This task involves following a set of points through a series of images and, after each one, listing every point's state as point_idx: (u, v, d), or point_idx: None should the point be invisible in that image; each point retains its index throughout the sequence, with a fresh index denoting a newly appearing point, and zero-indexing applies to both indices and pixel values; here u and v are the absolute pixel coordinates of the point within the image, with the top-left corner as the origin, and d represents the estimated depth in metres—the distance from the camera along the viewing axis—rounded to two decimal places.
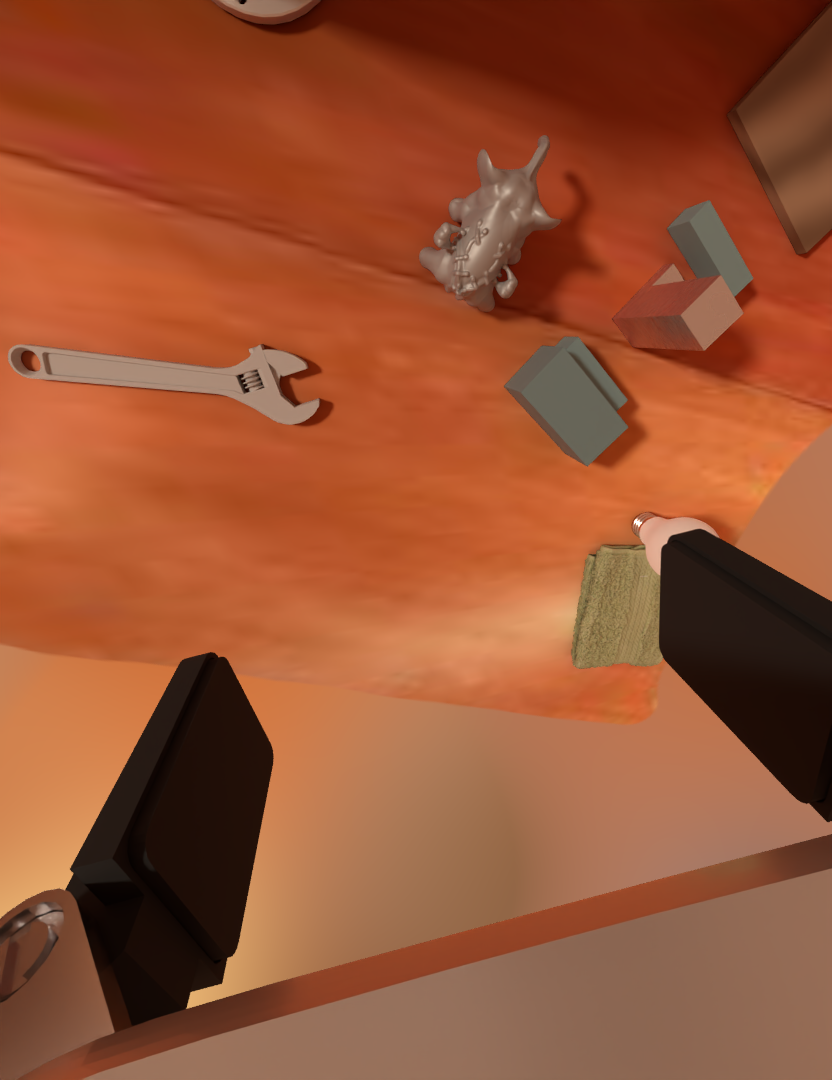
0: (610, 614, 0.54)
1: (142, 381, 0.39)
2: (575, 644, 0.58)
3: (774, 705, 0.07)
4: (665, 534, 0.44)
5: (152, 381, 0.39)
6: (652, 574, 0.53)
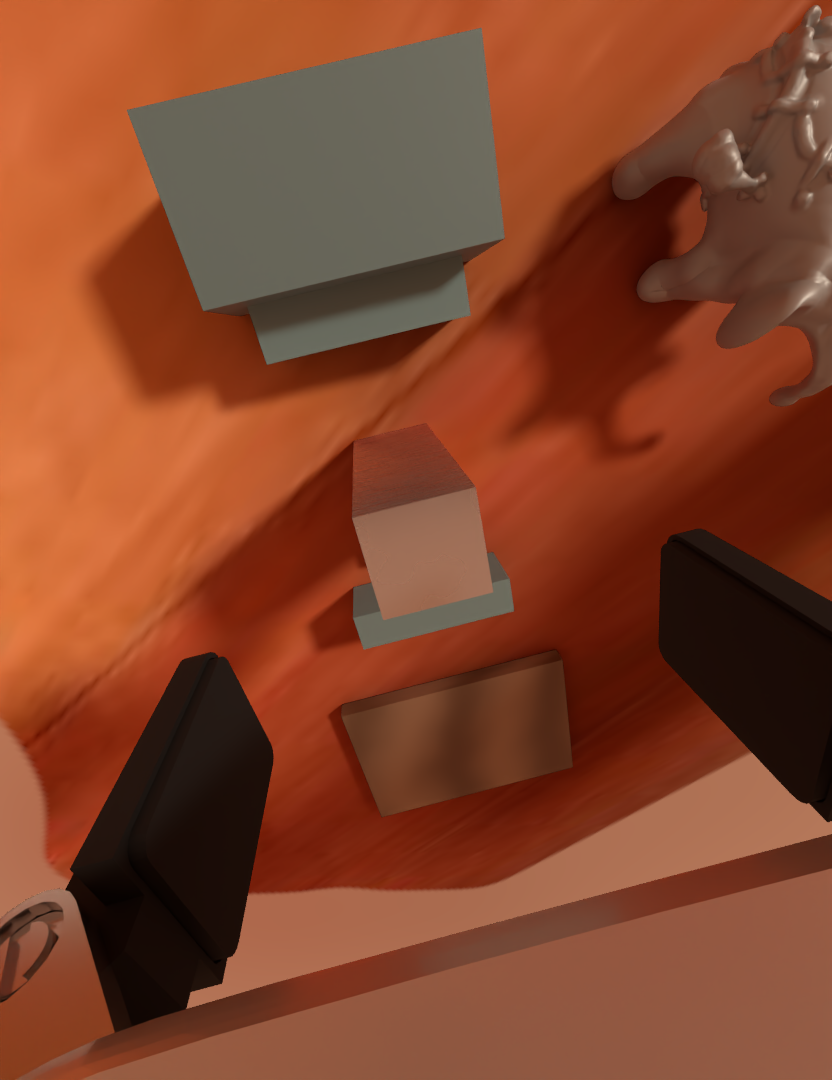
0: None
1: None
2: None
3: (774, 705, 0.07)
4: None
5: None
6: None
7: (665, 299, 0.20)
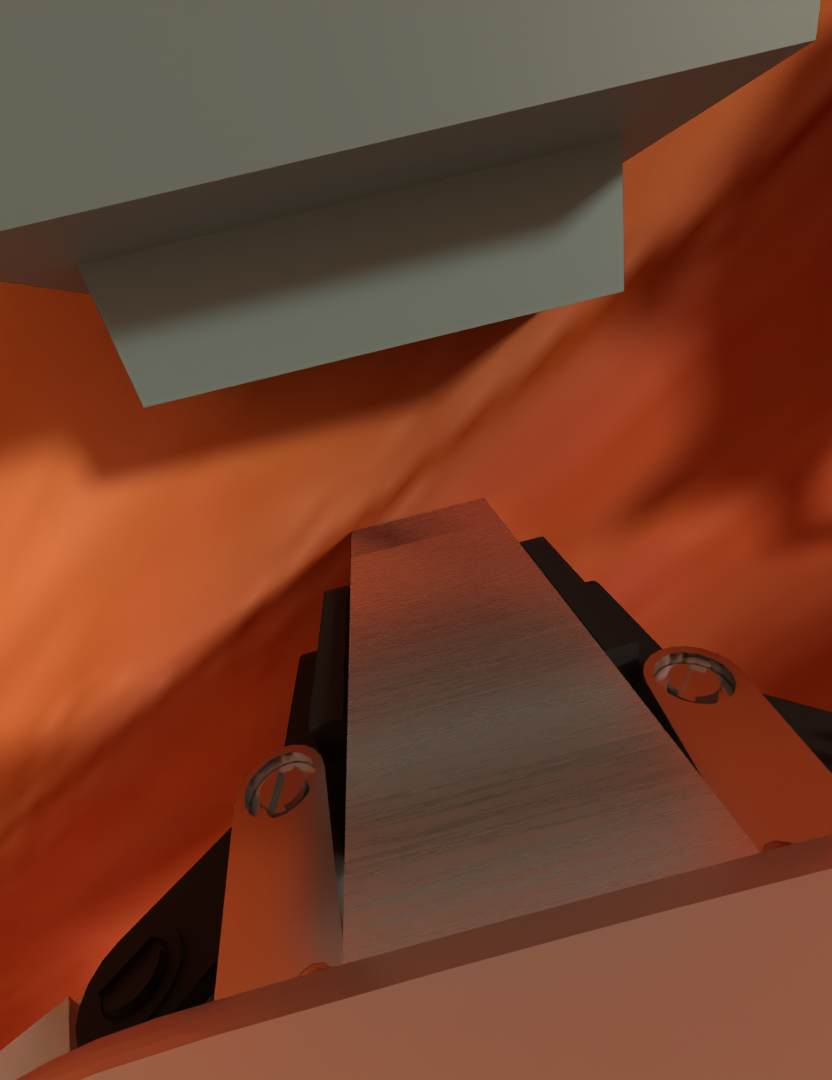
0: None
1: None
2: None
3: None
4: None
5: None
6: None
7: None
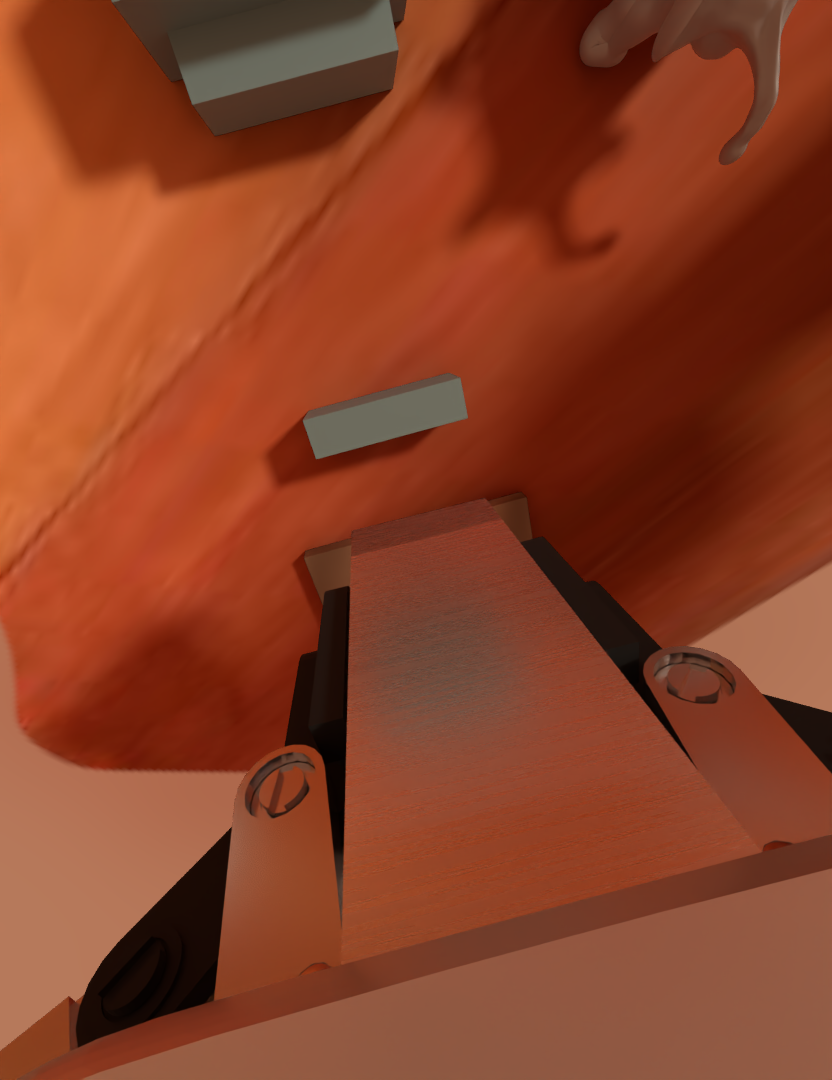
0: None
1: None
2: None
3: None
4: None
5: None
6: None
7: (607, 56, 0.19)
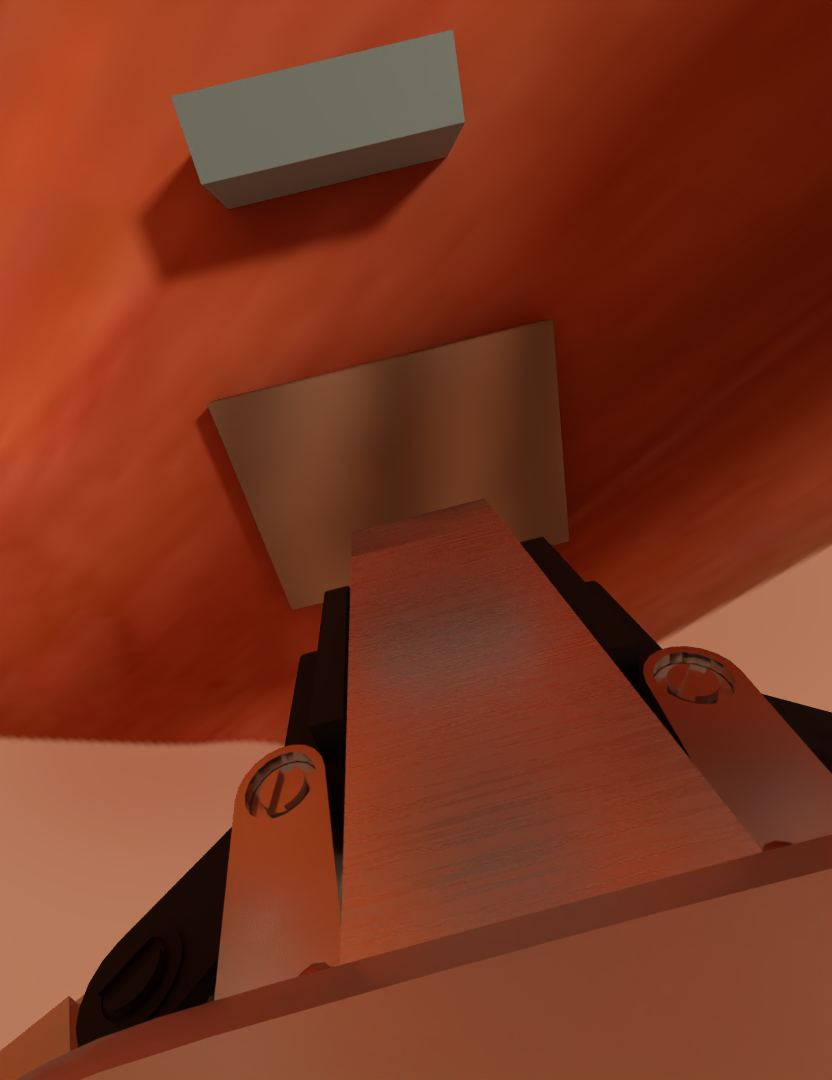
0: None
1: None
2: None
3: None
4: None
5: None
6: None
7: None
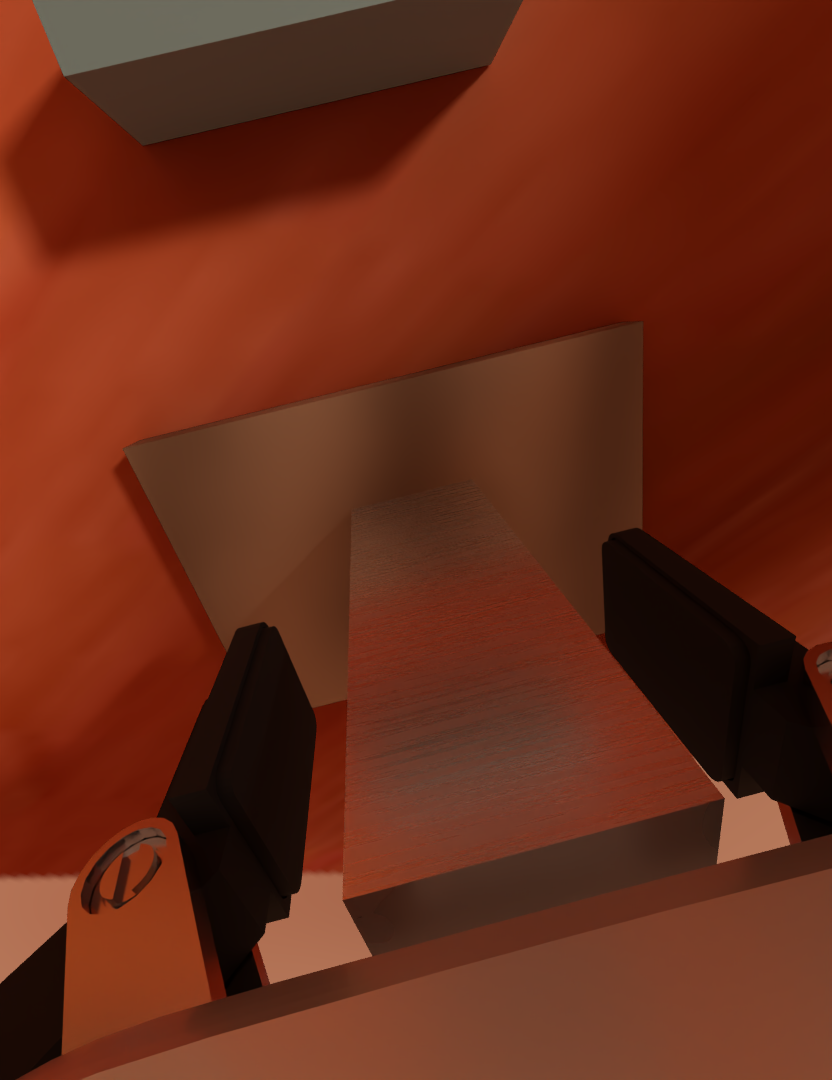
0: None
1: None
2: None
3: (690, 691, 0.08)
4: None
5: None
6: None
7: None
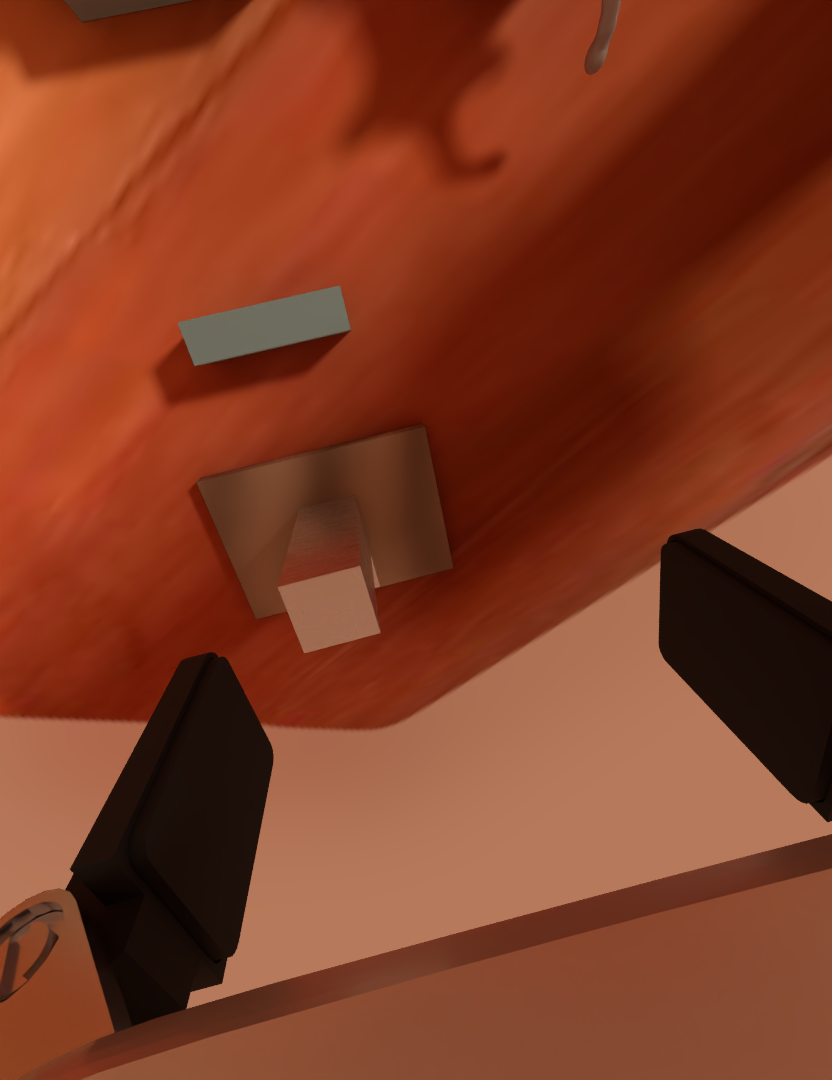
0: None
1: None
2: None
3: (774, 705, 0.07)
4: None
5: None
6: None
7: None
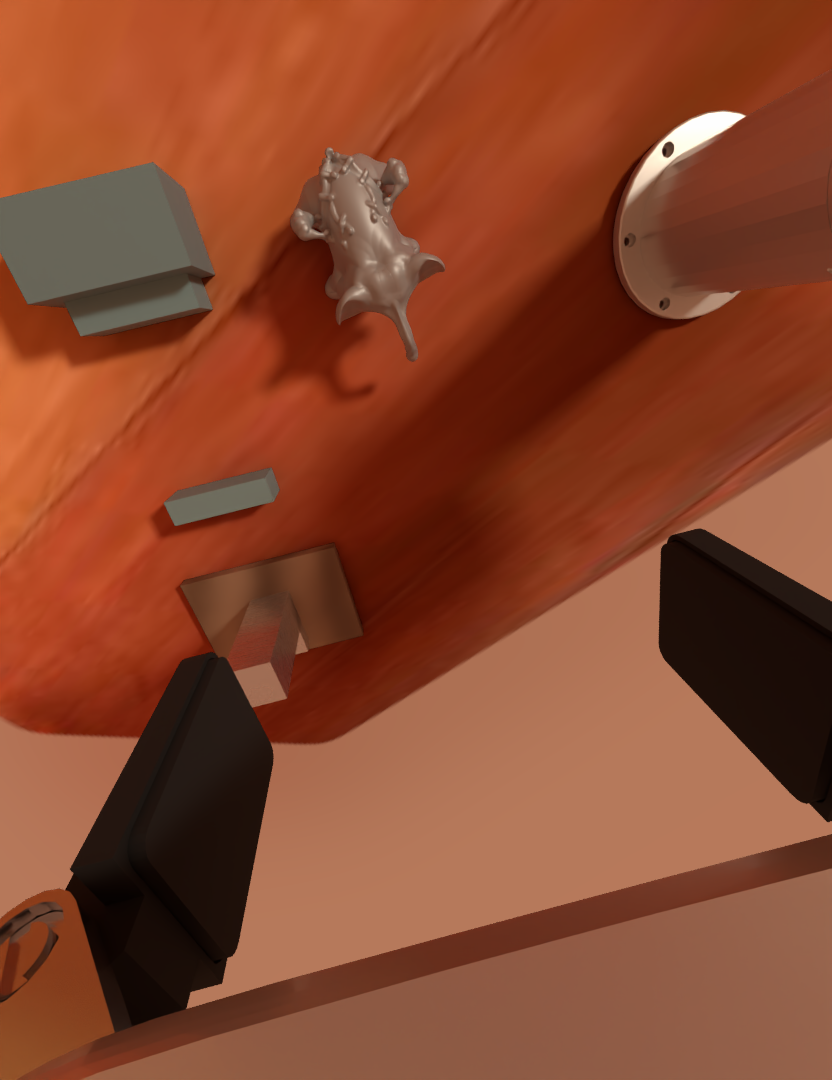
0: None
1: None
2: None
3: (774, 705, 0.07)
4: None
5: None
6: None
7: (340, 297, 0.32)
